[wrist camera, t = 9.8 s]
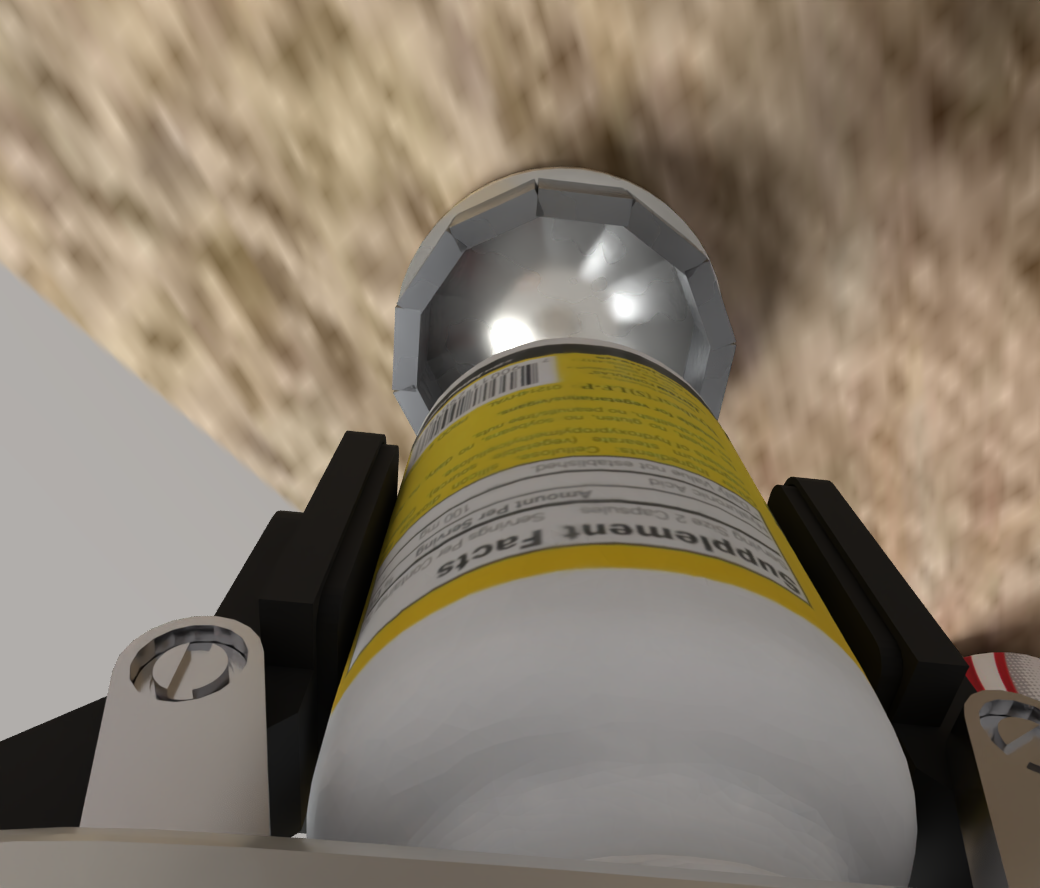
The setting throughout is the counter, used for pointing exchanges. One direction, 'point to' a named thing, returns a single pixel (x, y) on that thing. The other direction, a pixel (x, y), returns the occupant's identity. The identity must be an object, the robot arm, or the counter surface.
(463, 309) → the ring socket
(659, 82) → the counter surface
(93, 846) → the robot arm
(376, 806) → the supplement bottle
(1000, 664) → the soda can
